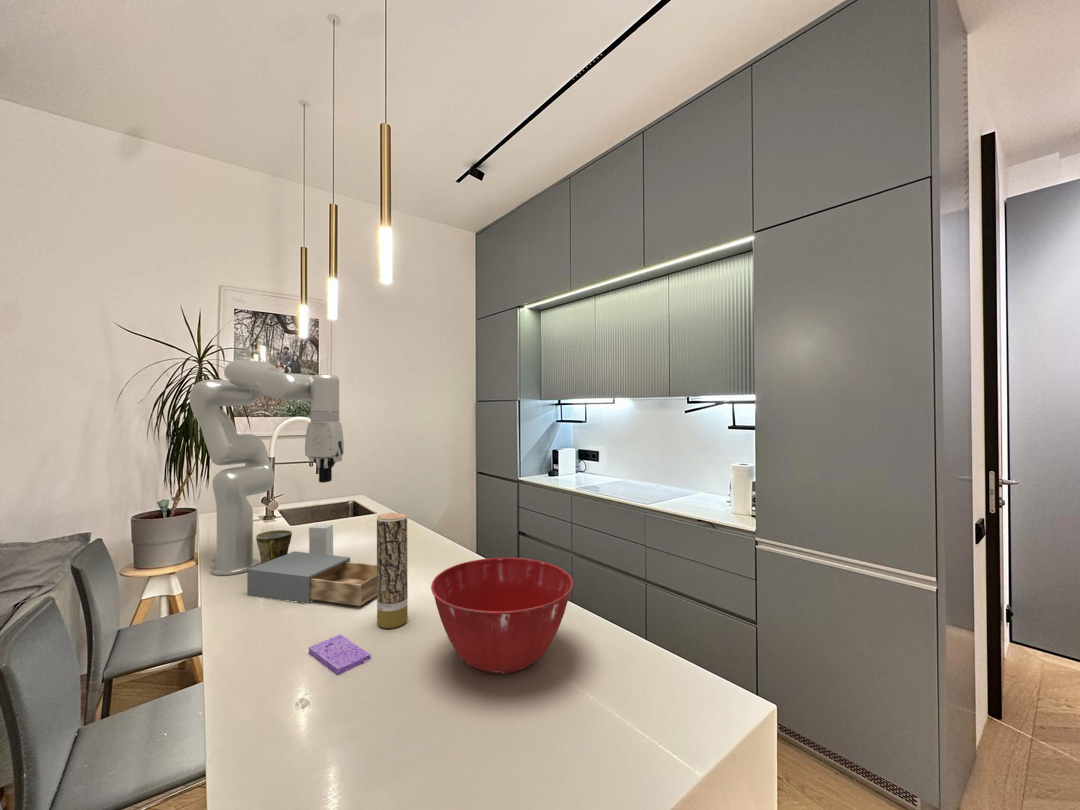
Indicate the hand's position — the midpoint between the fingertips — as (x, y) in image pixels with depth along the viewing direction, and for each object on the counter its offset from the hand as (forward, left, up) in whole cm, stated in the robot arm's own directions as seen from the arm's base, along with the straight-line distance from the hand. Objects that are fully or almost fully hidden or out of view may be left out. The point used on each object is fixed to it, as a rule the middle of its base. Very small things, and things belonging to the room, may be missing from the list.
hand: (325, 481), depth 134 cm
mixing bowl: (+63, -22, -29) cm, 73 cm away
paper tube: (+33, -16, -29) cm, 47 cm away
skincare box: (-14, +14, -29) cm, 35 cm away
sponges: (+31, -32, -30) cm, 54 cm away
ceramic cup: (-26, +7, -29) cm, 40 cm away
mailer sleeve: (-4, -5, -29) cm, 30 cm away
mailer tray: (+11, -5, -28) cm, 31 cm away
